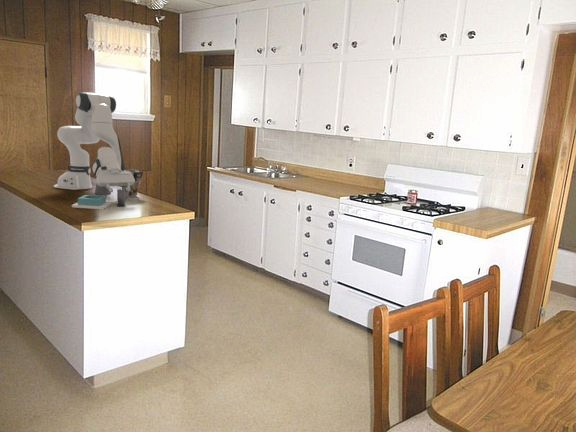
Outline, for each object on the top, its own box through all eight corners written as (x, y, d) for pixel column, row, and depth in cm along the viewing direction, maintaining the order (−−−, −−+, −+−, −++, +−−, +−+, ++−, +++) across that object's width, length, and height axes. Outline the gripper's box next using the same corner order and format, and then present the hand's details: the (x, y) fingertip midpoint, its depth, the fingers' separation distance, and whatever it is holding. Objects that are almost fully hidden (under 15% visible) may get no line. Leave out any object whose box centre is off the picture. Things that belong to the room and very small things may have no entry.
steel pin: (116, 206, 250) (116, 190, 248) (118, 205, 254) (118, 189, 252) (123, 206, 250) (123, 190, 248) (125, 205, 254) (126, 189, 252)
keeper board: (71, 207, 240) (71, 198, 239) (82, 202, 254) (82, 193, 253) (103, 209, 241) (103, 200, 240) (111, 204, 255) (111, 195, 254)
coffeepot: (88, 192, 281) (88, 163, 278) (100, 191, 290) (99, 162, 286) (108, 196, 276) (108, 166, 272) (119, 194, 285) (119, 165, 281)
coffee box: (129, 198, 275) (136, 173, 271) (119, 194, 275) (126, 169, 271) (137, 196, 283) (143, 171, 279) (127, 192, 284) (134, 167, 280)
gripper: (128, 174, 266) (136, 193, 261) (92, 174, 252) (99, 195, 247) (132, 167, 262) (139, 186, 257) (95, 167, 248) (103, 188, 243)
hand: (120, 191), depth 252 cm, fingers open, 8 cm apart
